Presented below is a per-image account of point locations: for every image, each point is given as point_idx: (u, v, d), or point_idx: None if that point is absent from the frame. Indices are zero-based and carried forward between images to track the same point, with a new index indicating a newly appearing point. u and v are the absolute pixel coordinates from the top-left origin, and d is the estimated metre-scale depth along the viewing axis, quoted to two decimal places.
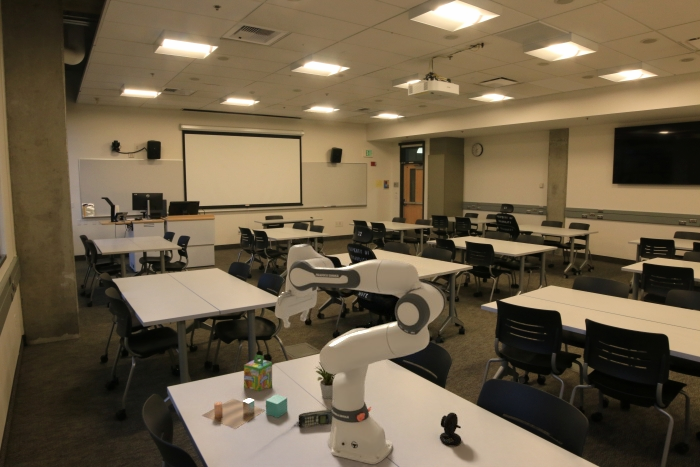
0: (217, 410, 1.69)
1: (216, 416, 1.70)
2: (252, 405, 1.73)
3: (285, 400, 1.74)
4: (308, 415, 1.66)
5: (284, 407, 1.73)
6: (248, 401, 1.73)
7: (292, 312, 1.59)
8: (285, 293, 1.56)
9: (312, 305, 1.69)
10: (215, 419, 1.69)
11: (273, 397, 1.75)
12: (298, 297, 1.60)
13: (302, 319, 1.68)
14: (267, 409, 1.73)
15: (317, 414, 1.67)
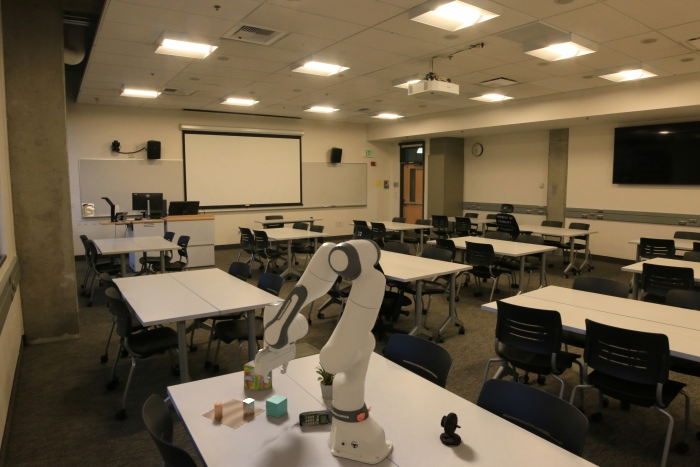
0: (217, 410, 1.69)
1: (216, 416, 1.70)
2: (252, 405, 1.73)
3: (285, 400, 1.74)
4: (308, 414, 1.67)
5: (284, 407, 1.73)
6: (248, 401, 1.73)
7: (271, 367, 1.67)
8: (262, 350, 1.65)
9: (291, 358, 1.77)
10: (215, 419, 1.69)
11: (273, 397, 1.75)
12: (276, 353, 1.68)
13: (282, 372, 1.76)
14: (267, 409, 1.73)
15: (317, 414, 1.68)
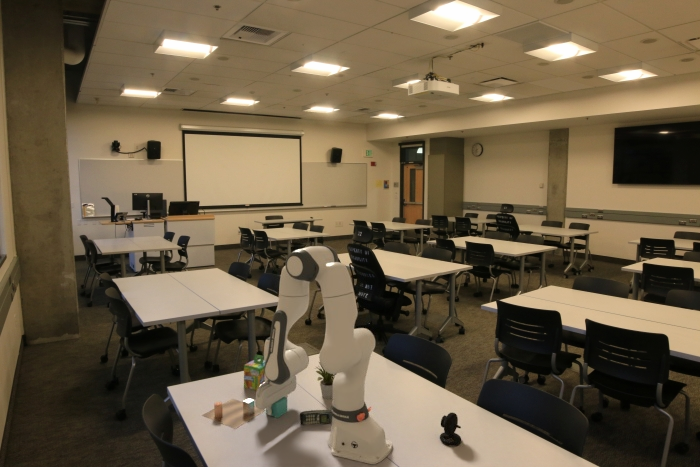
0: (217, 410, 1.69)
1: (216, 416, 1.70)
2: (252, 405, 1.73)
3: (285, 400, 1.74)
4: (309, 413, 1.68)
5: (284, 407, 1.73)
6: (248, 401, 1.73)
7: (272, 401, 1.69)
8: (263, 384, 1.66)
9: (292, 389, 1.79)
10: (215, 419, 1.69)
11: None
12: (277, 386, 1.70)
13: None
14: None
15: (318, 413, 1.68)
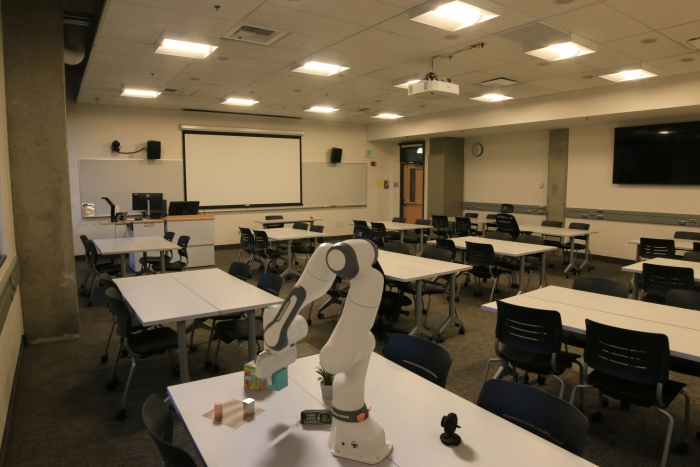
0: (217, 410, 1.69)
1: (216, 416, 1.70)
2: (252, 405, 1.73)
3: (285, 370, 1.72)
4: (310, 412, 1.68)
5: (284, 377, 1.72)
6: (248, 401, 1.73)
7: (272, 370, 1.67)
8: (263, 353, 1.65)
9: (292, 360, 1.77)
10: (215, 419, 1.69)
11: None
12: (276, 355, 1.68)
13: None
14: (267, 380, 1.71)
15: (319, 412, 1.68)
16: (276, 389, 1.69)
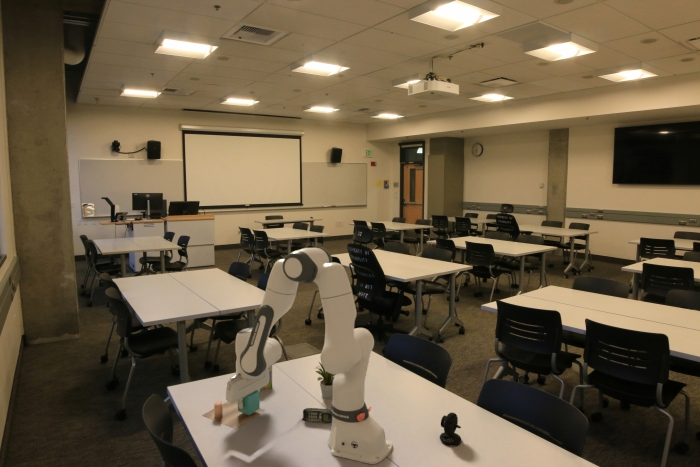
0: (217, 410, 1.69)
1: (216, 416, 1.70)
2: None
3: (257, 394, 1.73)
4: (312, 411, 1.70)
5: (256, 401, 1.73)
6: None
7: (243, 394, 1.68)
8: (234, 378, 1.65)
9: (265, 383, 1.78)
10: (215, 419, 1.69)
11: None
12: (248, 379, 1.69)
13: None
14: None
15: (320, 411, 1.69)
16: (247, 412, 1.70)
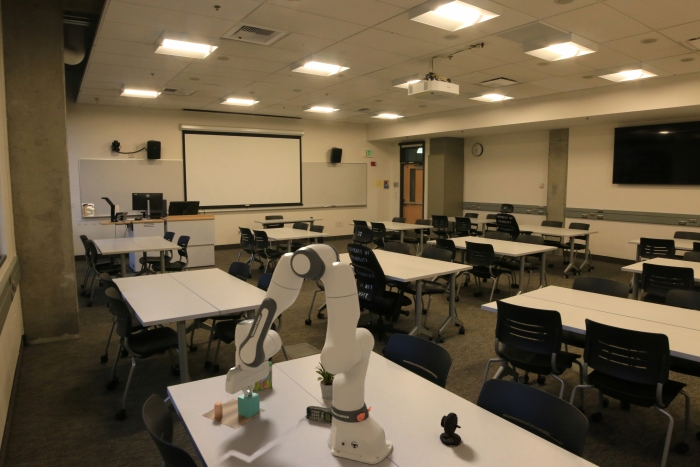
0: (217, 410, 1.69)
1: (216, 416, 1.70)
2: None
3: (257, 397, 1.73)
4: (314, 409, 1.71)
5: (256, 404, 1.73)
6: None
7: (243, 386, 1.68)
8: (234, 369, 1.65)
9: (264, 375, 1.78)
10: (215, 419, 1.69)
11: None
12: (247, 371, 1.69)
13: None
14: (239, 406, 1.72)
15: (322, 410, 1.70)
16: (247, 416, 1.70)
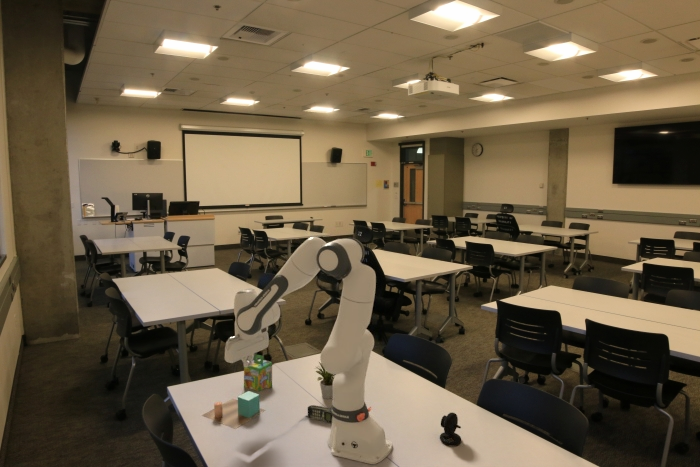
0: (217, 410, 1.69)
1: (216, 416, 1.70)
2: None
3: (257, 397, 1.73)
4: (315, 408, 1.72)
5: (256, 404, 1.73)
6: None
7: (242, 355, 1.66)
8: (233, 338, 1.64)
9: (264, 346, 1.76)
10: (215, 419, 1.69)
11: (245, 394, 1.74)
12: (247, 340, 1.67)
13: None
14: (239, 406, 1.72)
15: (323, 410, 1.70)
16: (247, 416, 1.70)
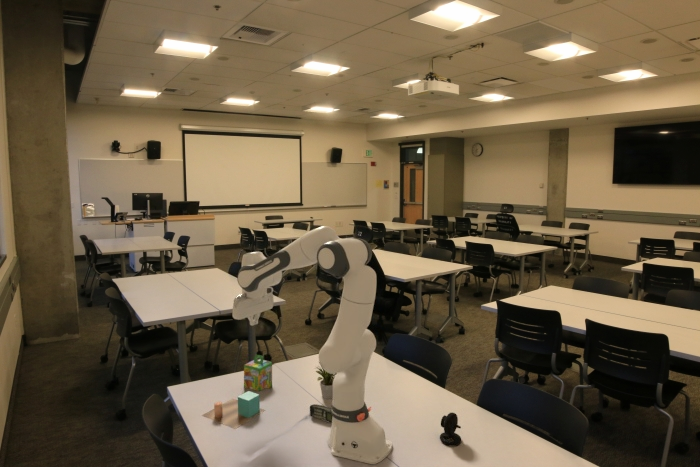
0: (217, 410, 1.69)
1: (216, 416, 1.70)
2: None
3: (257, 397, 1.73)
4: (317, 407, 1.72)
5: (256, 404, 1.73)
6: None
7: (249, 313, 1.77)
8: (240, 296, 1.74)
9: (269, 307, 1.87)
10: (215, 419, 1.69)
11: (245, 394, 1.74)
12: (253, 299, 1.78)
13: None
14: (239, 406, 1.72)
15: (325, 410, 1.71)
16: (247, 416, 1.70)
